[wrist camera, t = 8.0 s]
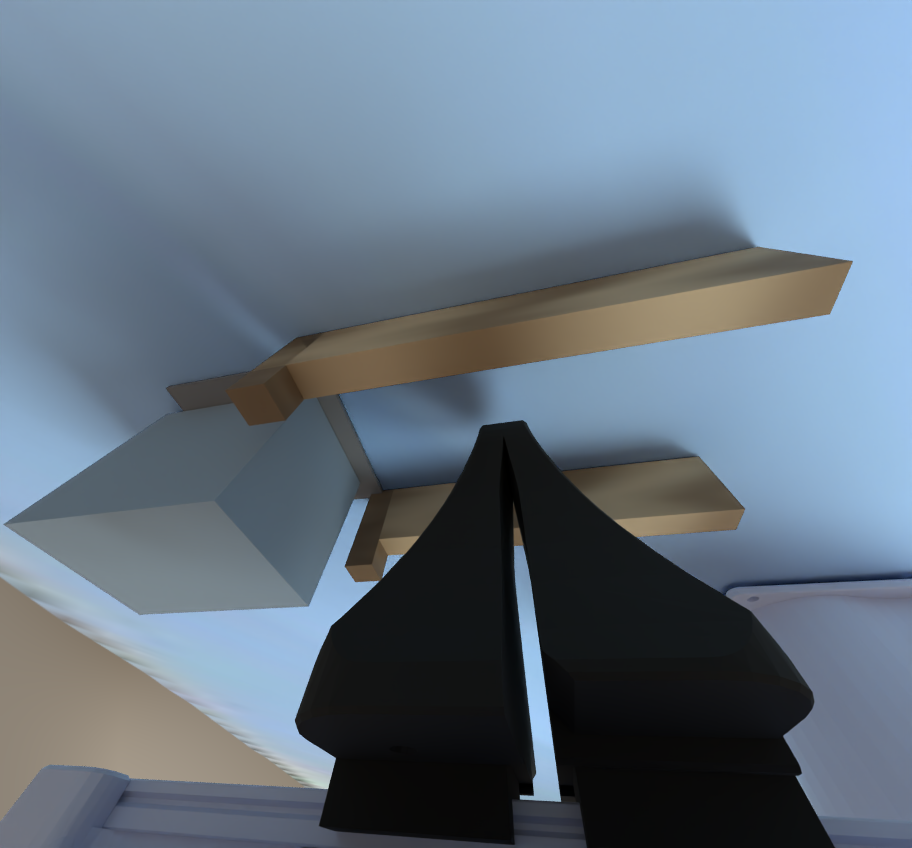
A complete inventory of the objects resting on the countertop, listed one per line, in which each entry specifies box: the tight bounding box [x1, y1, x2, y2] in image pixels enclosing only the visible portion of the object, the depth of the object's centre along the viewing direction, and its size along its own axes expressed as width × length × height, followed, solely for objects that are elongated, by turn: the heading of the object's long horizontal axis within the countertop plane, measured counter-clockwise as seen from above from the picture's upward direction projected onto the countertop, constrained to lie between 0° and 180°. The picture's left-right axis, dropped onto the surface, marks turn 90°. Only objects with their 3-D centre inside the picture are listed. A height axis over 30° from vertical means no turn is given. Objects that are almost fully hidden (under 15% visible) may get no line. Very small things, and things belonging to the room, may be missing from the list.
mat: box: [166, 371, 383, 499], centre depth 13 cm, size 6×6×1 cm
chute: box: [225, 247, 853, 582], centre depth 10 cm, size 13×8×4 cm, turn 102°
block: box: [3, 398, 360, 615], centre depth 11 cm, size 6×4×5 cm
